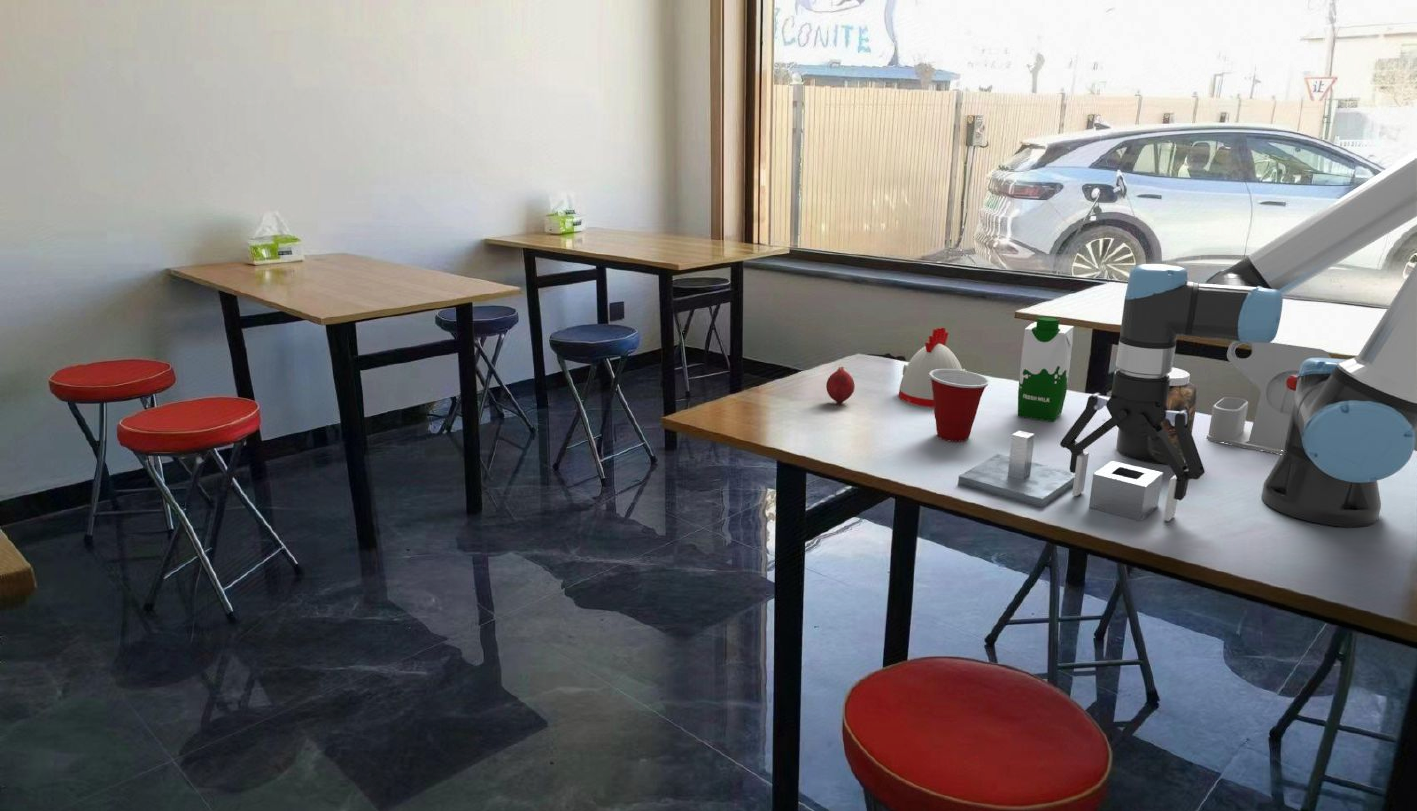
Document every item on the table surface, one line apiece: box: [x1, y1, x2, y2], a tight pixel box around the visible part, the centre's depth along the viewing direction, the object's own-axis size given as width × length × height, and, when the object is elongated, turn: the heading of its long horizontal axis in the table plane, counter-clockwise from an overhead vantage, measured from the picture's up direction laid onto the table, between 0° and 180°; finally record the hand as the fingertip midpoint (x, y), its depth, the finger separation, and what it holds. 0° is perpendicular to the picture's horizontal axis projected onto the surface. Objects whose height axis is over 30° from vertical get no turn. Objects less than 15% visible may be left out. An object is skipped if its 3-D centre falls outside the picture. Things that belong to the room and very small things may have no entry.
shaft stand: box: [957, 430, 1075, 509], centre depth 149 cm, size 14×14×8 cm
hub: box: [1088, 460, 1164, 522], centre depth 140 cm, size 8×8×6 cm
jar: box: [1116, 366, 1198, 465], centre depth 162 cm, size 12×12×15 cm
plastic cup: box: [929, 369, 991, 442], centre depth 171 cm, size 11×11×12 cm
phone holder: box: [1206, 341, 1332, 454], centre depth 166 cm, size 17×10×18 cm, turn 48°
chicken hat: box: [898, 327, 967, 408], centre depth 195 cm, size 14×14×15 cm
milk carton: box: [1017, 316, 1075, 423], centre depth 182 cm, size 9×9×20 cm
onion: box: [825, 365, 855, 404], centre depth 191 cm, size 6×6×8 cm
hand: (1122, 505), depth 141 cm, fingers open, 13 cm apart
